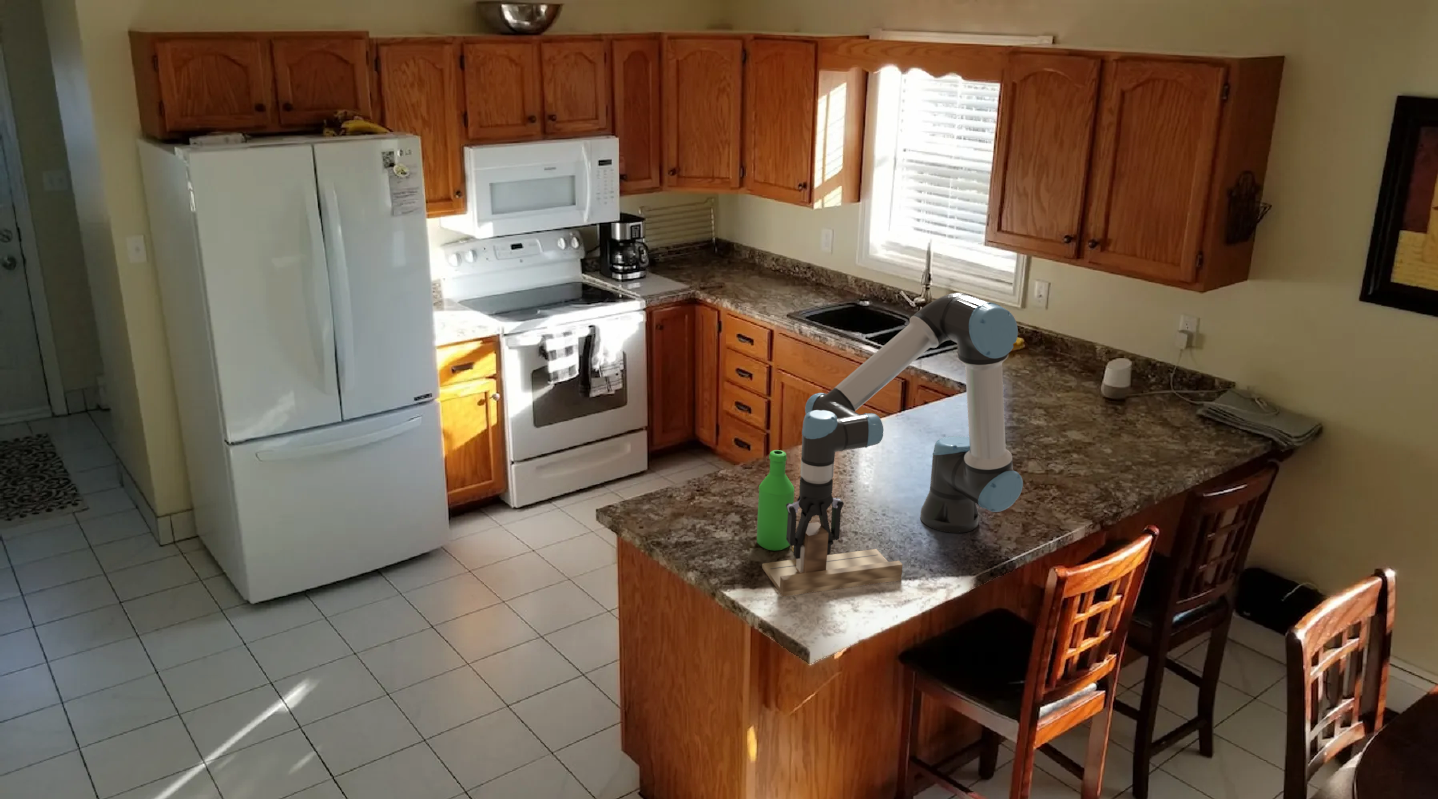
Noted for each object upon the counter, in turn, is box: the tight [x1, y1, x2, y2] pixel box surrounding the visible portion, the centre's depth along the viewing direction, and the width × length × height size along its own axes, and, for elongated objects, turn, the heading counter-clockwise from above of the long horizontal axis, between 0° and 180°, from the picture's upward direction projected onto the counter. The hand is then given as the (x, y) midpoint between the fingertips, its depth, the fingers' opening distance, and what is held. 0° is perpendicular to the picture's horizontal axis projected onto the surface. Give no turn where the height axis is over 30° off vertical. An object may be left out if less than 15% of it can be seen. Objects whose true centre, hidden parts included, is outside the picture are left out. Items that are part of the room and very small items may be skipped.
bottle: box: [756, 449, 795, 552], centre depth 267 cm, size 9×9×25 cm
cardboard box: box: [791, 521, 828, 574], centre depth 255 cm, size 5×14×12 cm, turn 17°
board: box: [761, 548, 903, 597], centre depth 256 cm, size 30×14×4 cm, turn 107°
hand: (811, 567), depth 253 cm, fingers closed on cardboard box, 5 cm apart
